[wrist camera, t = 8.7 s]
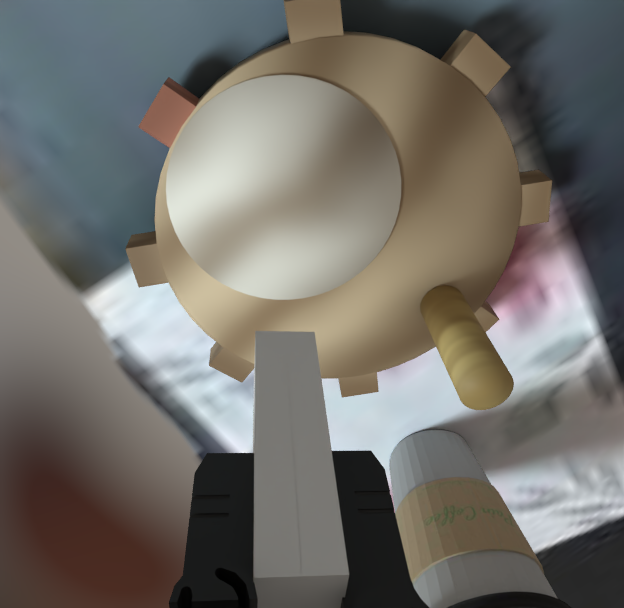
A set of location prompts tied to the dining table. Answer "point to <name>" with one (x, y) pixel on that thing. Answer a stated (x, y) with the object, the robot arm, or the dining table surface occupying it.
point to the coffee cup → (461, 530)
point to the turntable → (342, 203)
